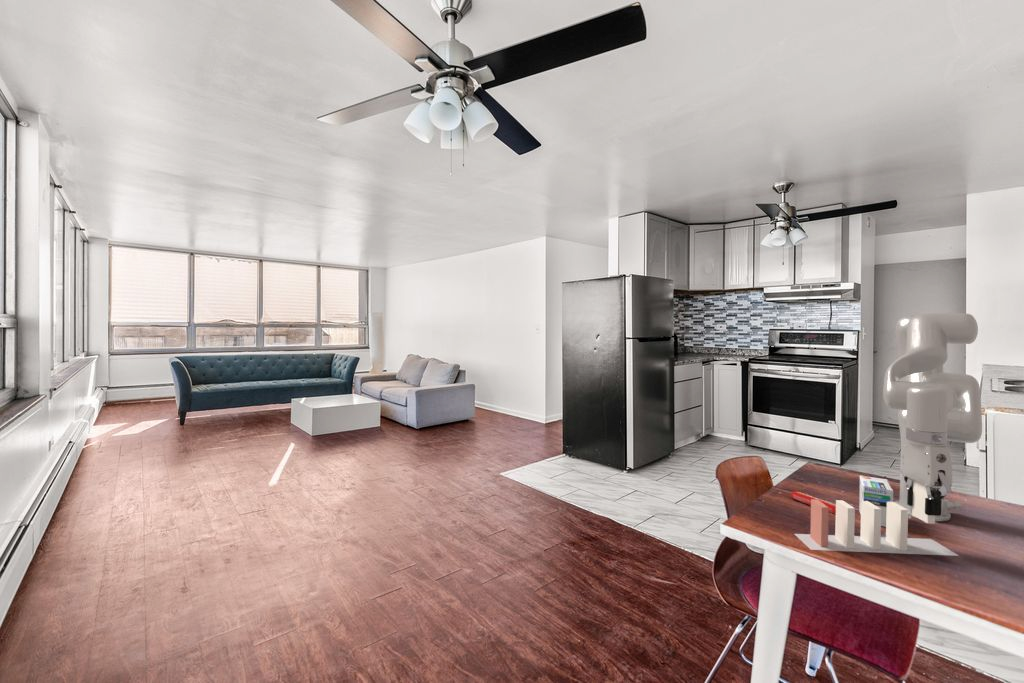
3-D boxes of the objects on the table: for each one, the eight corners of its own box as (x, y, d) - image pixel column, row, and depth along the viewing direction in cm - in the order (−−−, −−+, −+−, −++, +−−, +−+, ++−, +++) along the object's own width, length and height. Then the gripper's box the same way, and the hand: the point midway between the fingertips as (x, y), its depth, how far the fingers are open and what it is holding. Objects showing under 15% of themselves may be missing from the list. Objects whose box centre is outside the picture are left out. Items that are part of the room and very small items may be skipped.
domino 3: (867, 539, 118) (868, 501, 117) (880, 549, 113) (881, 509, 112) (860, 539, 118) (861, 500, 118) (873, 548, 113) (874, 508, 113)
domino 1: (816, 537, 119) (817, 499, 119) (827, 547, 114) (828, 507, 114) (810, 537, 119) (811, 499, 119) (821, 546, 115) (821, 507, 114)
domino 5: (919, 515, 116) (920, 475, 116) (934, 523, 111) (936, 482, 111) (912, 514, 116) (913, 475, 116) (927, 523, 111) (928, 482, 111)
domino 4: (892, 540, 117) (893, 501, 117) (907, 550, 112) (908, 509, 112) (885, 540, 117) (886, 501, 117) (899, 549, 112) (901, 509, 112)
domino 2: (841, 538, 119) (842, 500, 118) (853, 548, 114) (854, 508, 113) (835, 538, 119) (835, 500, 118) (846, 547, 114) (847, 508, 113)
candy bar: (848, 516, 133) (848, 506, 133) (839, 518, 132) (840, 508, 132) (794, 497, 148) (795, 487, 148) (787, 499, 146) (787, 489, 146)
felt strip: (931, 540, 118) (931, 538, 118) (959, 557, 109) (959, 555, 109) (793, 535, 122) (793, 533, 122) (810, 551, 113) (810, 549, 113)
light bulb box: (893, 530, 124) (894, 490, 123) (862, 524, 127) (863, 486, 127) (887, 515, 133) (888, 478, 132) (858, 510, 137) (858, 474, 136)
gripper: (973, 446, 104) (970, 525, 105) (916, 429, 121) (914, 497, 121) (936, 445, 105) (934, 524, 105) (885, 428, 122) (883, 496, 122)
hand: (923, 509), depth 113 cm, fingers closed on domino 5, 4 cm apart
